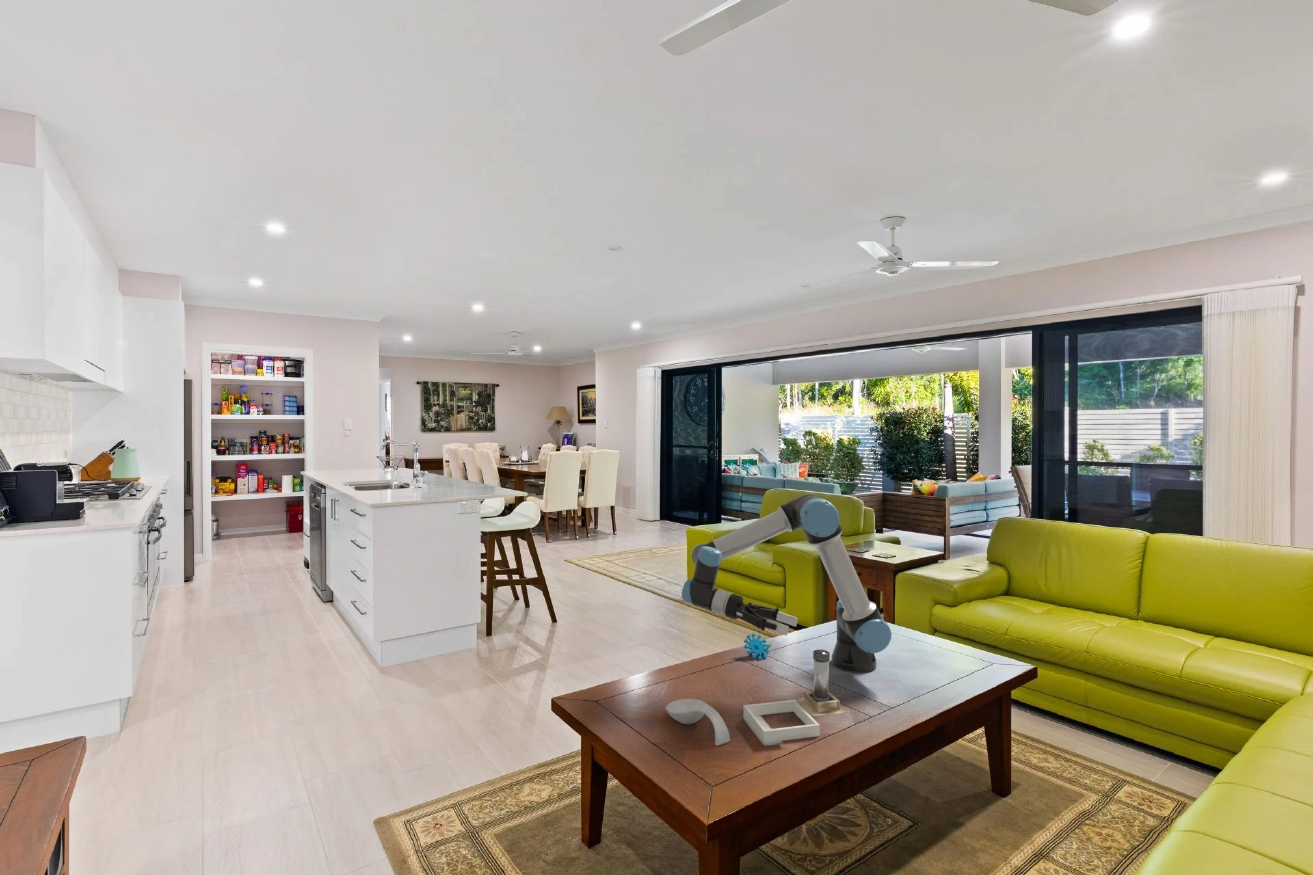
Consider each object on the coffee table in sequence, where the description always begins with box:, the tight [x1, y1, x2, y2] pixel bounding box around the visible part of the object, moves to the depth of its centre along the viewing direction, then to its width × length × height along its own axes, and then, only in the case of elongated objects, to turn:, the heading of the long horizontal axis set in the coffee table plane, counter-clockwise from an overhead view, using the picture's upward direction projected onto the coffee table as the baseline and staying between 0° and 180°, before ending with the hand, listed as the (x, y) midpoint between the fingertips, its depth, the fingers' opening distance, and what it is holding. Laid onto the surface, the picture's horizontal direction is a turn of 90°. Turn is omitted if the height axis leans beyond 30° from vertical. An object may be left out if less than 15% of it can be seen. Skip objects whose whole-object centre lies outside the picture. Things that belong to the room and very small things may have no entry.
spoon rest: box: [665, 698, 731, 747], centre depth 182 cm, size 24×12×7 cm, turn 32°
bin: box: [742, 699, 821, 747], centre depth 180 cm, size 16×16×4 cm
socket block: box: [794, 691, 850, 717], centre depth 193 cm, size 12×12×4 cm
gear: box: [743, 633, 772, 661], centre depth 236 cm, size 11×6×10 cm
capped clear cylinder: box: [812, 649, 831, 702], centre depth 192 cm, size 5×5×16 cm
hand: (792, 626), depth 198 cm, fingers open, 13 cm apart
